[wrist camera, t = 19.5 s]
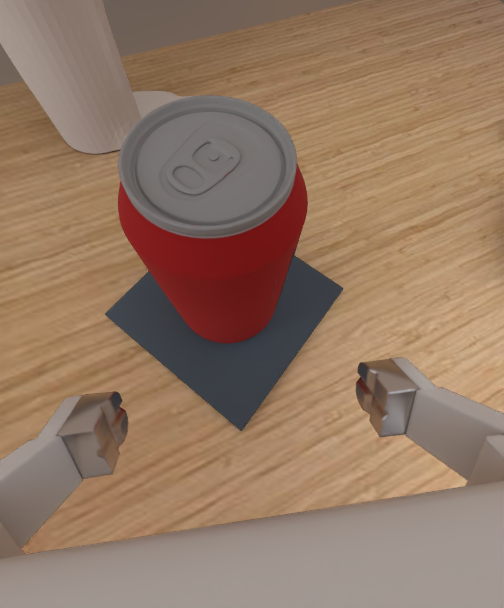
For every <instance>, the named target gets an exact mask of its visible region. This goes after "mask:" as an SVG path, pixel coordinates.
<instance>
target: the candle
mask: <svg viewBox="0 0 504 608" xmlns="http://www.w3.org/2000/svg"><path fill="white" fill-rule="evenodd" d="M0 43H1V45H2V46H3V48H4V49H5V51H6V53H7V54H8V56H9V58H10V59H11V61H12V62H13V64H14V65H15V67H16V68H17V70H18V71H19V73H20V75H21V76H22V78H23V79H24V81H25V82H26V84H27V85H28V87H29V88H30V90H31V91H32V93H33V94H34V96H35V97H36V99H37V100H38V102H39V103H40V105H41V106H42V108H43V109H44V110H45V112H46V113H47V115H48V116H49V118H50V119H51V121H52V122H53V124H54V125H55V127H56V128H57V130H58V131H59V133H60V134H61V136H62V137H63V139H64V140H65V141H66V143H67V144H68V145H69V146H71V147H72V148H74V149H76V150H78V151H81V152H85V153H92V154H99V153H107V152H111V151H116V150H121V146H122V144H123V142H124V140H125V138H126V136H127V134H128V133H129V132H130V130H131V129H132V128H133V126H134V125H135V124H136V123H137V122H138V121H139V120H140V119H142V118H143V117H144V116H145V115H147V114H148V113H150V112H151V111H153V110H154V109H156V108H158V107H160V106H162V105H164V104H167V103H169V102H172V101H175V100H179V99H183V98H187V97H193V96H182V97H179V96H177V95H175V94H174V93H171V92H166V91H137V92H132V90H131V87H130V84H129V82H128V79H127V76H126V73H125V70H124V67H123V65H122V62H121V59H120V56H119V53H118V50H117V47H116V44H115V41H114V38H113V36H112V32H111V29H110V26H109V24H108V20H107V17H106V13H105V9H104V6H103V0H0Z"/></svg>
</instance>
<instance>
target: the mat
mask: <svg viewBox="0 0 504 608" xmlns="http://www.w3.org/2000/svg"><path fill="white" fill-rule="evenodd" d="M342 290H343V288H342V287H341V286H339V285H338V284H336V283H335V282H333V281H332V280H330V279H329V278H327V277H326V276H324V275H323V274H321V273H320V272H318V271H317V270H315V269H314V268H312V267H311V266H309V265H308V264H306V263H305V262H303V261H302V260H300V259H299V258H297V257H296V256H294V257H293V260H292V263H291V266H290V269H289V272H288V275H287V278H286V281H285V284H284V287H283V290H282V293H281V295H280V298H279V301H278V304H277V306H276V309H275V312H274V314H273V316H272V318H271V320H270V321H269V323H268V324H267V325H266V327H265V328H264V329H263V330H261V331H260V332H259V333H258V334H256V335H255V336H253V337H251V338H249V339H247V340H244V341H241V342H236V343H217V342H213V341H210V340H207V339H205V338H203V337H201V336H199V335H198V334H197V333H195V332H194V331H193V330H192V329H191V328H190V327H189V326H188V325H187V323H186V322H185V321H184V319H183V318H182V317H181V315H180V314H179V313H178V311H177V310H176V308H175V307H174V306H173V304H172V303H171V302H170V300H169V299H168V297H167V296H166V294H165V293H164V292H163V290H162V289H161V287H160V286H159V284H158V283H157V282H156V280H155V279H154V277H153V276H152V274H151V273H150V271H149V272H148V273H147V274H146V275H145V276H143V277H142V278H141V279H140V280H139V281H138V282H137V283H136V284H135V285H134V286H133V287H132V288H131V289H130V290H129V291H128V292H127V293H126V294H125V295H124V296H123V297H122V298H121V299H120V300H119V301H118V302H117V303H116V304H115V305H114V306H113V307H112V308H111V309H110V310H109V311H107V312H106V313H105V315H106V316H107V317H108V318H110V319H111V320H112V321H113V322H114V323H115V324H117V325H118V326H119V327H120V328H121V329H122V330H124V331H125V332H126V333H127V334H128V335H129V336H131V337H132V338H133V339H134V340H135V341H136V342H138V343H139V344H140V345H141V346H142V347H143V348H145V349H146V350H147V351H148V352H149V353H150V354H152V355H153V356H154V357H155V358H156V359H157V360H159V361H160V362H161V363H162V364H163V365H164V366H166V367H167V368H168V369H169V370H170V371H171V372H173V373H174V374H175V375H176V376H177V377H178V378H180V379H181V380H182V381H183V382H184V383H186V384H187V385H188V386H189V387H190V388H191V389H193V390H194V391H195V392H196V393H197V394H198V395H200V396H201V397H202V398H203V399H204V400H205V401H207V402H208V403H209V404H210V405H211V406H212V407H214V408H215V409H216V410H217V411H218V412H219V413H221V414H222V415H223V416H224V417H225V418H226V419H228V420H229V421H230V422H231V423H232V424H233V425H235V426H236V427H237V428H238V429H239V430H240V431H242V430H243V428H244V427H245V426H246V424H247V423H248V421H249V420H250V419H251V417H252V416H253V414H254V413H255V412H256V410H257V409H258V407H259V406H260V405H261V403H262V402H263V400H264V399H265V398H266V396H267V395H268V393H269V392H270V391H271V389H272V388H273V386H274V385H275V384H276V382H277V381H278V379H279V378H280V377H281V375H282V374H283V372H284V371H285V370H286V368H287V367H288V365H289V364H290V363H291V361H292V360H293V358H294V357H295V356H296V354H297V353H298V351H299V350H300V349H301V347H302V346H303V344H304V343H305V342H306V340H307V339H308V338H309V336H310V335H311V333H312V332H313V331H314V329H315V328H316V326H317V325H318V324H319V322H320V321H321V319H322V318H323V317H324V315H325V314H326V312H327V311H328V310H329V308H330V307H331V305H332V304H333V303H334V301H335V300H336V298H337V297H338V296H339V294H340V293H341V291H342Z"/></svg>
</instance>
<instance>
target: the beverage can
mask: <svg viewBox="0 0 504 608" xmlns="http://www.w3.org/2000/svg"><path fill="white" fill-rule="evenodd" d="M118 169H119V176H120V179H121V182H120V189H119V195H118V211H119V218H120V222H121V225H122V228H123V230H124V233H125V235H126V237H127V238H128V240H129V242H130V243H131V245H132V246H133V248H134V249H135V251H136V252H137V253H138V255H139V256H140V258H141V259H142V261H143V262H144V264H145V265H146V267H147V268H148V270H149V271H150V273H151V274H152V276H153V277H154V279H155V280H156V282H157V283H158V284H159V286H160V287H161V289H162V290H163V292H164V293H165V294H166V296H167V297H168V299H169V300H170V302H171V303H172V304H173V306H174V307H175V308H176V310H177V311H178V313H179V314H180V315H181V317H182V318H183V319H184V321H185V322H186V323H187V325H188V326H189V327H190V328H191V329H192V330H193V331H194V332H195V333H197V334H198V335H199V336H201V337H203V338H205V339H207V340H210V341H213V342H217V343H236V342H241V341H244V340H247V339H249V338H251V337H253V336H255V335H256V334H258V333H259V332H260V331H261V330H263V329H264V328H265V327H266V325H267V324H268V323H269V321H270V320H271V318H272V316H273V314H274V312H275V309H276V306H277V304H278V301H279V298H280V295H281V293H282V290H283V287H284V284H285V281H286V278H287V275H288V272H289V269H290V266H291V263H292V260H293V257H294V254H295V250H296V247H297V244H298V241H299V238H300V234H301V231H302V228H303V225H304V222H305V218H306V214H307V205H308V201H307V191H306V186H305V182H304V179H303V176H302V174H301V172H300V169H299V167H298V164H297V156H296V150H295V146H294V144H293V141H292V139H291V137H290V135H289V133H288V132H287V130H286V129H285V128H284V126H283V125H282V124H281V123H280V122H279V121H278V120H277V119H276V118H275V117H274V116H272V115H271V114H270V113H268V112H267V111H265V110H264V109H262V108H260V107H258V106H256V105H254V104H252V103H249V102H246V101H243V100H240V99H236V98H231V97H225V96H215V95H205V96H193V97H187V98H183V99H179V100H175V101H172V102H169V103H167V104H164V105H162V106H160V107H158V108H156V109H154V110H153V111H151V112H150V113H148V114H147V115H145V116H144V117H143V118H142V119H140V120H139V121H138V122H137V123H136V124H135V125H134V126H133V128H132V129H131V130H130V132H129V133H128V134H127V136H126V138H125V140H124V142H123V144H122V146H121V150H120V153H119V161H118Z"/></svg>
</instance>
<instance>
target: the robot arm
mask: <svg viewBox="0 0 504 608" xmlns="http://www.w3.org/2000/svg"><path fill="white" fill-rule="evenodd" d="M358 374H359V375H360V376H361V377H360V379H359V380H358V381H357V382H356V395H357V399H358V402H359V404H360V406H361V408H362V409H363V410H364V411H366V412H367V413H369V414H370V419H369V421H370V422H371V424H372V425H373V427H374V429H375V430H376V432H377V433H378V435H379V437H386V436H395V435H404V434H406V436H407V437H408V438H410V439H411V440H412V441H414V442H415V443H416V444H418V445H419V446H421V447H422V448H423V449H425V450H426V451H428V452H429V453H430V454H432V455H433V456H434V457H436V458H437V459H439V460H440V461H441V462H443V463H444V464H446V465H447V466H448V467H450V468H451V469H453V470H454V471H455V472H457V473H458V474H459V475H461V476H462V477H464V478H465V479H466V480H468V481H467V483H466V486H465V487H458V488H452V489H445V490H439V491H432V492H426V493H419V494H413V495H406V496H400V497H393V498H387V499H381V500H374V501H368V502H361V503H355V504H348V505H342V506H336V507H329V508H323V509H316V510H310V511H304V512H297V513H291V514H284V515H278V516H271V517H265V518H258V519H252V520H245V521H239V522H232V523H226V524H219V525H213V526H206V527H200V528H193V529H187V530H180V531H174V532H167V533H161V534H154V535H148V536H141V537H135V538H128V539H122V540H115V541H109V542H103V543H96V544H90V545H83V546H77V547H70V548H64V549H57V550H51V551H44V552H38V553H31V554H26V553H25V552H24V551H23V550H22V547H23V546H24V545H25V544H26V543H27V542H28V541H29V540H30V538H31V537H32V536H33V535H34V534H35V533H36V532H37V531H38V530H39V529H40V527H41V526H42V525H43V524H44V523H45V522H46V521H47V520H48V519H49V518H50V516H51V515H52V514H53V513H54V512H55V511H56V510H57V509H58V508H59V507H60V505H61V504H62V503H63V502H64V501H65V500H66V499H67V498H68V497H69V496H70V494H71V493H72V492H73V491H74V490H75V489H76V488H77V487H78V486H79V485H80V483H81V482H82V481H83V479H86V478H92V477H98V476H104V475H110V474H113V471H114V468H115V466H116V463H117V460H118V458H119V455H120V453H119V450H118V447H119V446H120V445H121V444H122V443H123V442H124V441H125V438H126V436H127V432H128V416H127V413H126V411H125V410H124V409H122V408H121V407H120V405H121V402H122V399H121V396H120V394H119V393H118V392H106V393H95V394H85V395H77V396H69V397H67V398H65V399H64V400H63V401H62V403H61V404H60V406H59V407H58V408H57V410H56V411H55V413H54V414H53V415H52V417H51V418H50V420H49V421H48V422H47V424H46V425H45V427H44V428H43V429H42V431H41V432H40V434H39V435H38V436H37V438H36V439H32V440H29V441H28V442H26V443H25V444H23V445H22V446H20V447H19V448H17V449H16V450H14V451H13V452H12V453H10V454H9V455H7V456H6V457H4V458H3V459H1V460H0V608H504V413H501V412H499V411H497V410H494V409H492V408H490V407H487V406H485V405H483V404H480V403H478V402H476V401H473V400H471V399H468V398H466V397H464V396H461V395H459V394H457V393H454V392H452V391H450V390H447V389H445V388H443V387H439V388H437V387H436V386H435V385H434V384H433V383H432V382H431V381H430V380H429V379H428V378H427V377H425V376H424V375H423V374H422V373H421V372H420V371H419V370H418V369H417V368H416V367H415V366H414V365H413V364H412V363H411V362H410V361H409V360H408V359H407V358H404V357H397V358H390V359H385V360H377V361H369V362H361V363H360V364H359V366H358Z"/></svg>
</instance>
